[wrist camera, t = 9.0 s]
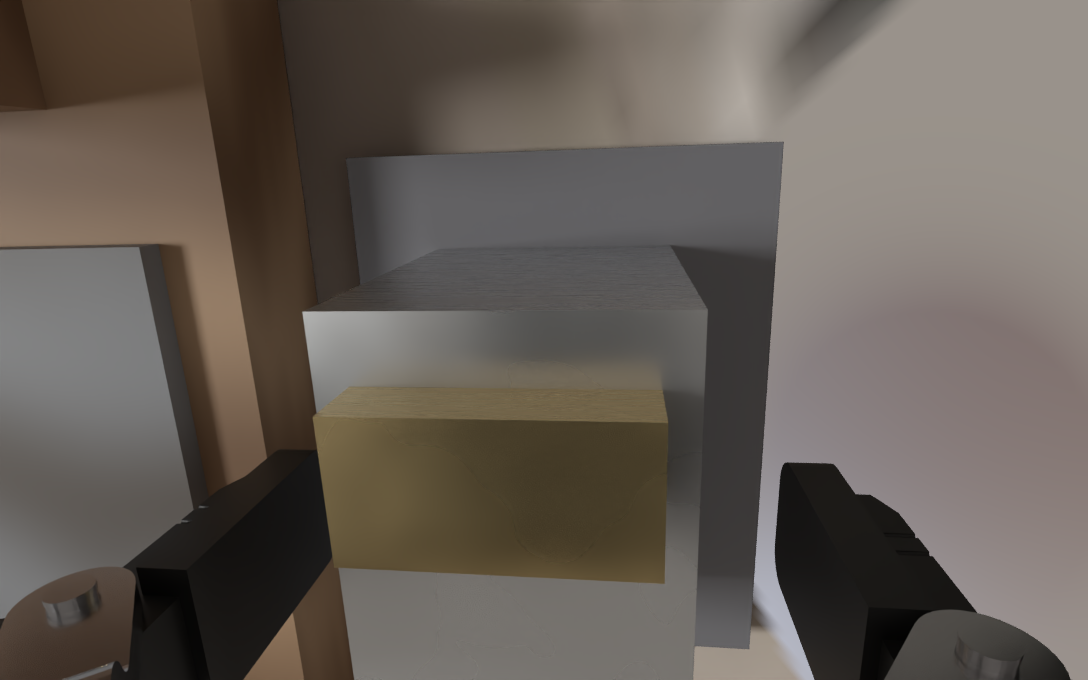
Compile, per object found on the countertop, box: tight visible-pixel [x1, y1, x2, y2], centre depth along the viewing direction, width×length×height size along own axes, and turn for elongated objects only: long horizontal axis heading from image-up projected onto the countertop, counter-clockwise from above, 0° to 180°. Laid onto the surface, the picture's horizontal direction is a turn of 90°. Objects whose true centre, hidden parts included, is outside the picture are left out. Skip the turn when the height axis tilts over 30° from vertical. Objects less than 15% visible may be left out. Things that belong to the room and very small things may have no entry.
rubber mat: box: [346, 142, 784, 649], centre depth 15 cm, size 12×9×1 cm
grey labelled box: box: [302, 245, 708, 680], centre depth 11 cm, size 8×5×7 cm, turn 2°
